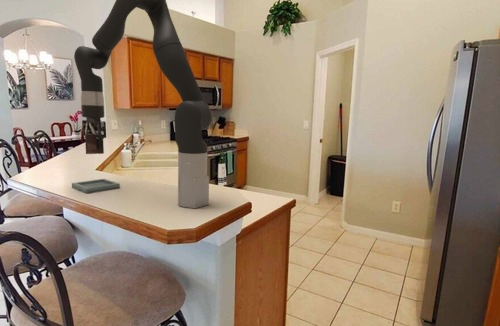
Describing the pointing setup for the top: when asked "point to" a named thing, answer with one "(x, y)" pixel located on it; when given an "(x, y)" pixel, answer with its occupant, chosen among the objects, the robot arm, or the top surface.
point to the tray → (95, 185)
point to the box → (92, 144)
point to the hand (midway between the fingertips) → (94, 148)
